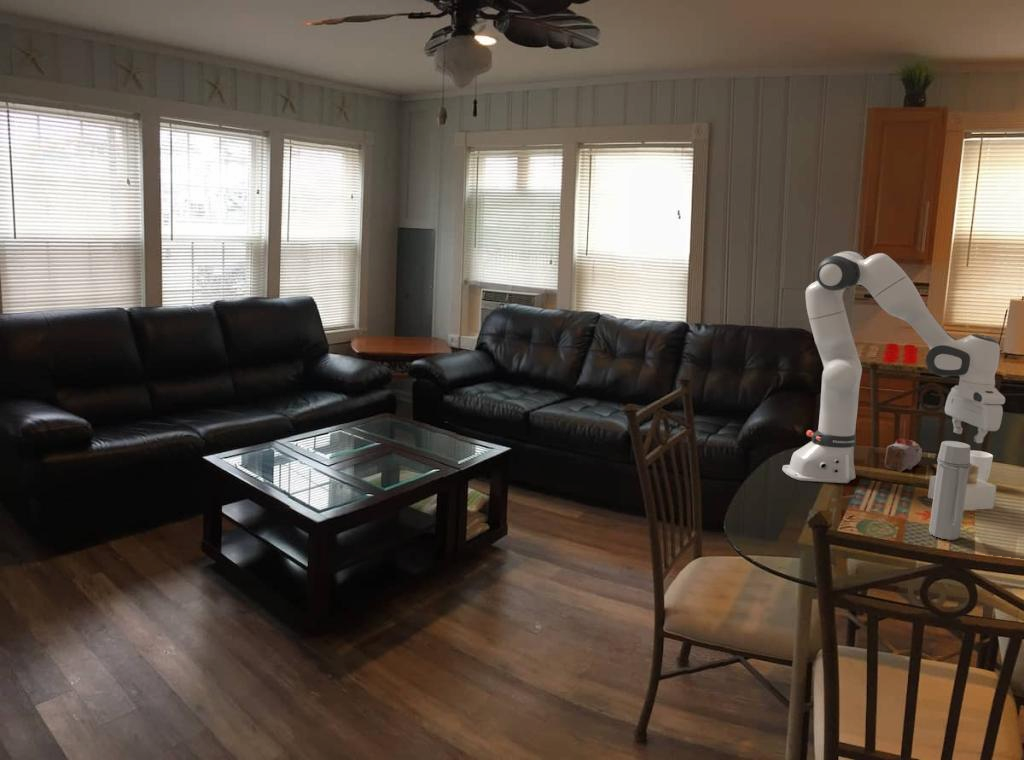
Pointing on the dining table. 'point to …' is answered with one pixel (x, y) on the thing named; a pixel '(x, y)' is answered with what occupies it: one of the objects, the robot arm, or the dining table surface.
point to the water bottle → (950, 490)
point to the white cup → (981, 463)
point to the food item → (902, 455)
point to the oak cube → (972, 474)
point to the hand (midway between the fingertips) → (967, 437)
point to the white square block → (973, 494)
